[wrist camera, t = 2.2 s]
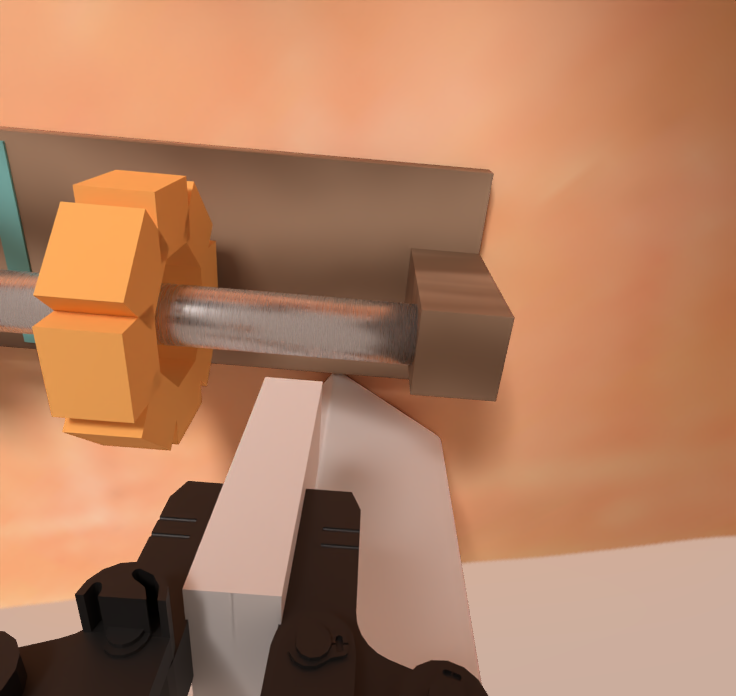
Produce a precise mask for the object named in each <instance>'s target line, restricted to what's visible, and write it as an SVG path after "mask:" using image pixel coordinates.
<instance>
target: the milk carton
mask: <svg viewBox="0 0 736 696" xmlns="http://www.w3.org/2000/svg"><path fill="white" fill-rule="evenodd" d="M315 489H318V490H331V491H344V492H352V493H353V495H354V497H355V499H356V501H357V503H358V505H359V507H360V509H361V517H360V540H359V563H358V586H357V608H356V615H357V624H358V627H359V629H360V632H361V635H362V636H363V637H364V639H365V640H366V642H367V643H368V645H369V646H370V647H372V648H373V649H374V650H375V651H376V652H377V653H378V654H380V655H382V656H384V657H385V658H387V659H389V660H391V661H394V662H396V663H398V664H401V665H403V666H406V667H408V668H410V669H414V668H415V667H416V666H417V665H420V664H422V663H425V662H427V661H430V660H445V661H450V662H452V663H455V664H457V665H460V666H462V667H464V668H466V669H467V670H468V671H469V672H470V673H471V674H473V675H474V676H475V677H476V678H477V679H478V680H479V681H480V683H481V678H480V672H479V666H478V660H477V654H476V649H475V642H474V636H473V630H472V625H471V618H470V612H469V606H468V600H467V594H466V588H465V582H464V576H463V570H462V564H461V558H460V552H459V546H458V539H457V533H456V527H455V521H454V515H453V509H452V503H451V497H450V491H449V485H448V479H447V473H446V467H445V461H444V455H443V449H442V443H441V439H440V438H439V437H438V436H437V435H436V434H434V433H433V432H431V431H430V430H428V429H427V428H425V427H424V426H422V425H421V424H419V423H418V422H416V421H415V420H413V419H412V418H410V417H409V416H407V415H405V414H404V413H402V412H401V411H399V410H398V409H396V408H395V407H393V406H392V405H390V404H389V403H387V402H386V401H384V400H383V399H381V398H379V397H378V396H376V395H375V394H373V393H372V392H370V391H369V390H367V389H366V388H364V387H363V386H361V385H360V384H358V383H357V382H355V381H353V380H352V379H350V378H349V377H347V376H346V375H344V374H338V373H332V374H331V375H330V376H329V378H328V379H327V380H326V381H325V382H324V384H323V386H322V406H321V425H320V445H319V465H318V471H317V477H316V484H315ZM481 685H482V684H481ZM188 696H193V690H192V684H191V688H190V691H189V694H188Z"/></svg>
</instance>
